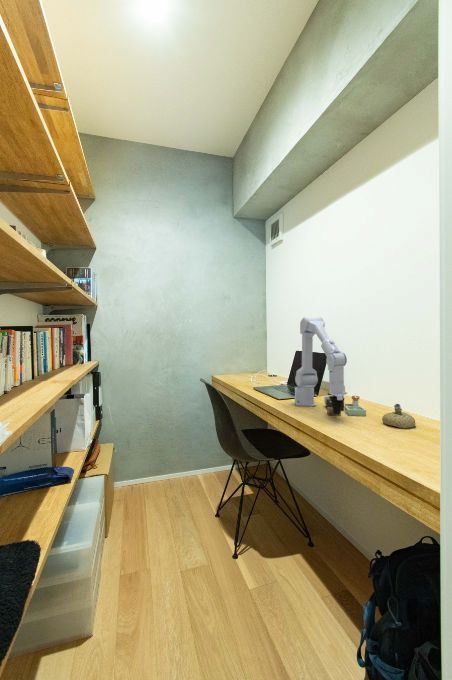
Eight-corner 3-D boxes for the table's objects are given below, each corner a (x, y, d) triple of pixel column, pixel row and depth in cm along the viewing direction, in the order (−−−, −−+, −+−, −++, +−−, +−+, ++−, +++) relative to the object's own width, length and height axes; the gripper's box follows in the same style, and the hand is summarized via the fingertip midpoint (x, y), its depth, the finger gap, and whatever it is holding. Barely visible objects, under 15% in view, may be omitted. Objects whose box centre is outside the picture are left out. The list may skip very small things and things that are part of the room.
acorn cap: (419, 425, 121) (400, 404, 126) (419, 422, 112) (398, 399, 118) (397, 439, 123) (379, 418, 128) (396, 437, 114) (376, 414, 120)
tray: (348, 415, 134) (348, 409, 134) (344, 411, 141) (344, 405, 141) (366, 416, 132) (366, 410, 132) (361, 411, 140) (361, 406, 140)
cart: (327, 410, 143) (327, 395, 143) (324, 405, 152) (324, 391, 152) (345, 410, 142) (345, 395, 141) (341, 405, 151) (341, 391, 151)
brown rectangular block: (329, 416, 134) (329, 409, 134) (327, 413, 138) (327, 407, 138) (340, 416, 134) (340, 409, 134) (338, 414, 137) (338, 407, 137)
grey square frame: (347, 410, 143) (347, 406, 143) (344, 407, 149) (344, 403, 148) (360, 410, 142) (360, 406, 142) (357, 407, 148) (357, 404, 148)
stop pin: (352, 412, 136) (352, 397, 135) (350, 411, 139) (350, 395, 138) (360, 413, 135) (360, 397, 135) (357, 411, 138) (358, 395, 138)
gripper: (350, 384, 121) (350, 418, 122) (342, 378, 136) (342, 409, 136) (332, 384, 123) (332, 418, 123) (326, 378, 137) (326, 409, 137)
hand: (336, 413), depth 130 cm, fingers closed
